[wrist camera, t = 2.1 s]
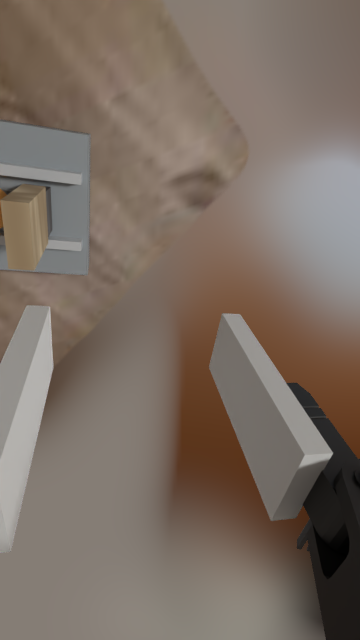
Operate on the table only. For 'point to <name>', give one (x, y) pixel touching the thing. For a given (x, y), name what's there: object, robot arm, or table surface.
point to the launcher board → (66, 189)
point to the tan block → (26, 225)
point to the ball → (0, 195)
